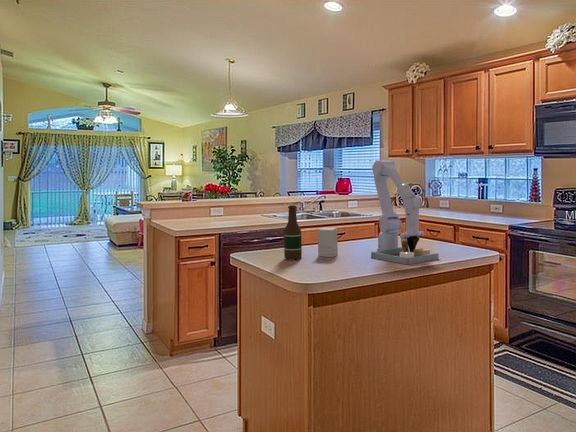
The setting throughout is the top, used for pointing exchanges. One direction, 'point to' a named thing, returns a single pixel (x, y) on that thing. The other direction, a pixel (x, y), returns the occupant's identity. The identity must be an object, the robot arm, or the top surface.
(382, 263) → the top surface
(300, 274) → the top surface
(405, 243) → the tin
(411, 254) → the white short round piece
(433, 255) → the tray
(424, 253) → the kraft box
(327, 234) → the supplement box
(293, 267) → the top surface
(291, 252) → the beer bottle
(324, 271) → the top surface
